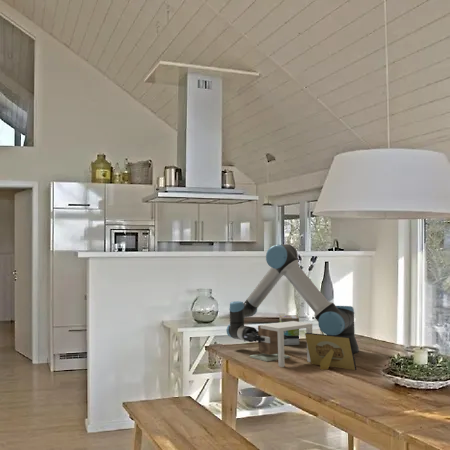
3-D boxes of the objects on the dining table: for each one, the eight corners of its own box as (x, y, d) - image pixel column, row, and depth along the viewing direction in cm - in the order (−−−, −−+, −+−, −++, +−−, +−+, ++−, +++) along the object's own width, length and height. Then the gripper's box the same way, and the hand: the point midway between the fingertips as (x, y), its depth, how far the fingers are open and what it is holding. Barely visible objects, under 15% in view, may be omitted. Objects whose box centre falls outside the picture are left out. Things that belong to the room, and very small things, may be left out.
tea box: (300, 345, 331) (299, 317, 332) (281, 345, 332) (280, 318, 332) (297, 340, 346) (296, 314, 347) (279, 340, 347) (278, 314, 347)
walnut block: (258, 352, 302) (258, 325, 302) (268, 350, 305) (267, 324, 305) (269, 354, 294) (269, 327, 294) (279, 353, 297) (278, 326, 298)
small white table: (261, 362, 288) (260, 325, 289) (294, 356, 299) (293, 320, 299) (280, 367, 276) (279, 328, 276) (314, 361, 287) (313, 324, 287)
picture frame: (356, 369, 267) (353, 335, 266) (345, 375, 261) (342, 340, 260) (312, 363, 283) (309, 331, 282) (301, 368, 276) (298, 336, 275)
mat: (249, 357, 302) (249, 355, 302) (272, 353, 309) (272, 351, 309) (266, 361, 290) (266, 359, 290) (289, 357, 297) (289, 356, 297)
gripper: (262, 339, 320) (290, 345, 300) (232, 343, 310) (259, 349, 290) (262, 324, 320) (290, 329, 301) (232, 328, 310) (258, 333, 290)
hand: (275, 339), depth 295 cm, fingers closed on walnut block, 6 cm apart
